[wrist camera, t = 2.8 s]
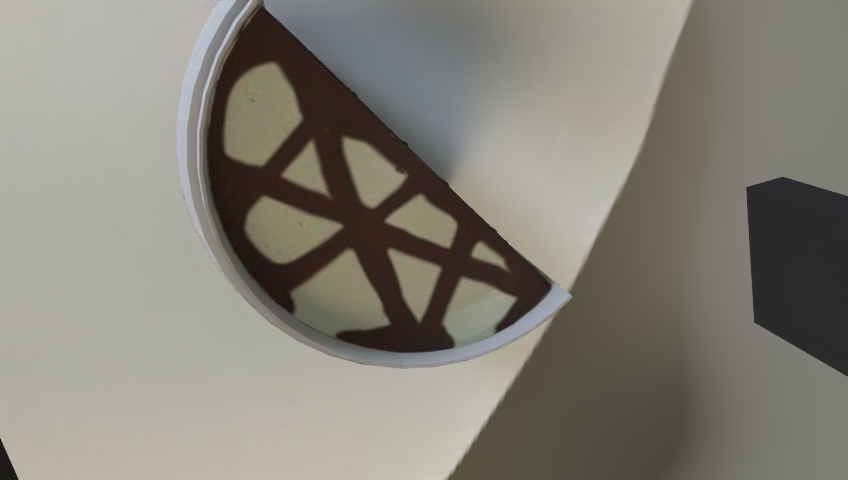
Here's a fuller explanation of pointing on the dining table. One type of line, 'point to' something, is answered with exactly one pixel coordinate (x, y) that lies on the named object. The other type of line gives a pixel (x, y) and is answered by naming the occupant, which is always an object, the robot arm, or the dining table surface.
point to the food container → (337, 210)
